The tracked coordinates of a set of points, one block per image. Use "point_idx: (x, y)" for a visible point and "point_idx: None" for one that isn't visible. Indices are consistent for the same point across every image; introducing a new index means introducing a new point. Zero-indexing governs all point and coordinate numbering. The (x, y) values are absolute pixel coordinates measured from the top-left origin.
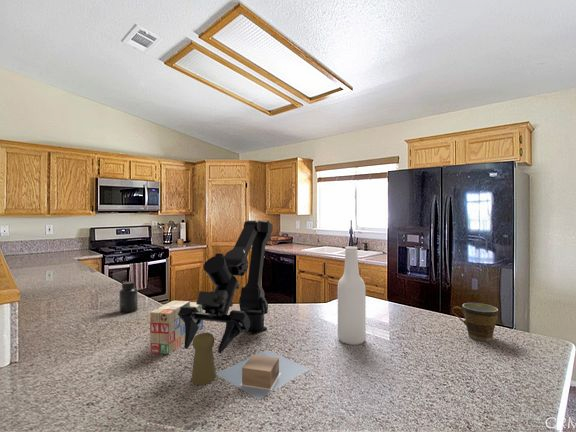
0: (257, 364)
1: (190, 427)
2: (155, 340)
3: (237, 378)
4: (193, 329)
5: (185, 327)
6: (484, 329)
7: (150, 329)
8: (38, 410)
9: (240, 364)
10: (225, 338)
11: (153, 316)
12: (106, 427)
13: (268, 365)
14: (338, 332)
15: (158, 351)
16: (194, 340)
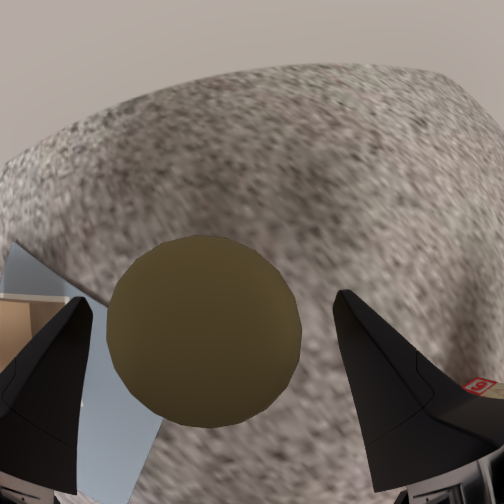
0: (2, 339)
1: (133, 98)
2: (494, 391)
3: (94, 339)
4: (389, 433)
5: (452, 380)
6: None
7: None
8: (459, 105)
9: (137, 433)
10: (20, 352)
11: None
12: (319, 63)
13: None
14: None
15: (465, 388)
16: (251, 253)
